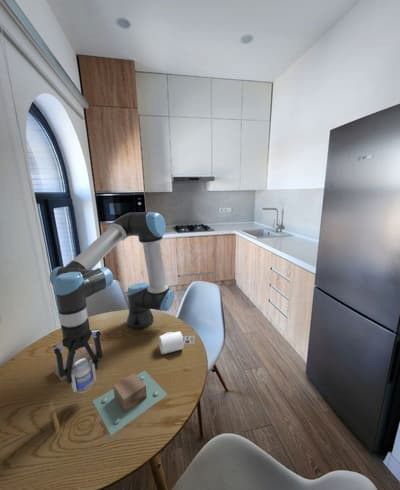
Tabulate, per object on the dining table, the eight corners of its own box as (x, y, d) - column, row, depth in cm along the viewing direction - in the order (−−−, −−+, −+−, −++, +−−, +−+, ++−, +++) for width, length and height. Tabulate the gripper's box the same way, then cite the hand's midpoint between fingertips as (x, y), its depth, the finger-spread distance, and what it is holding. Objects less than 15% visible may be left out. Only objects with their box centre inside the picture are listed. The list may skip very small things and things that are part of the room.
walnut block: (135, 384, 81) (134, 372, 80) (146, 397, 75) (145, 385, 74) (114, 397, 75) (113, 385, 74) (124, 413, 70) (123, 399, 69)
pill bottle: (77, 382, 75) (73, 358, 73) (94, 378, 77) (90, 354, 75) (74, 396, 70) (69, 370, 68) (92, 390, 72) (88, 366, 70)
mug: (184, 352, 100) (183, 336, 99) (162, 358, 96) (161, 342, 95) (177, 338, 111) (176, 324, 110) (157, 343, 107) (156, 328, 106)
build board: (144, 373, 88) (144, 369, 88) (167, 397, 76) (167, 393, 76) (92, 404, 74) (92, 400, 74) (111, 439, 63) (110, 434, 63)
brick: (62, 382, 84) (61, 371, 84) (53, 373, 89) (51, 363, 88) (102, 358, 98) (101, 348, 97) (92, 351, 102) (91, 342, 102)
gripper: (100, 307, 77) (107, 363, 82) (37, 328, 65) (49, 393, 69) (108, 314, 72) (116, 374, 76) (41, 339, 59) (54, 409, 64)
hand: (84, 383), depth 73 cm, fingers closed on pill bottle, 5 cm apart
